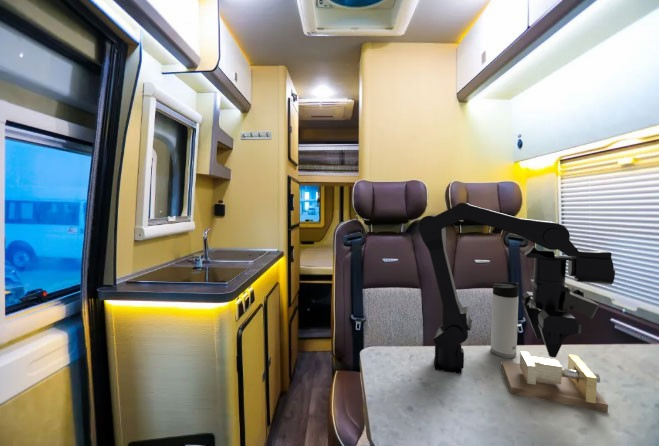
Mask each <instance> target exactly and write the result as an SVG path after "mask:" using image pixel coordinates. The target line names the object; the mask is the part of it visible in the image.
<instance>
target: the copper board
mask: <svg viewBox="0 0 659 446" xmlns="http://www.w3.org/2000/svg"><path fill="white" fill-rule="evenodd" d="M500 365H501V369H502V373H503V375H504V378H505V382H506V384H507V386H508V389H509V392H510V394H511V395H515V396H520V397H521V396H522V397H527V398H532V399H536V400H544V401H549V402H553V403H559V404H564V405H569V406H574V407H580V408H585V409H591V410H596V411H603V412H606V413H607V412H609V404H608V402H607V401H606V399H604V397H603V396H602V395H601V394H600V393H599V391H597V390H596V403H590V402H586V401H585V400H584V399H583V397H582V396H581V394H580V393H579V392H578V390H577V389H576V387H575V386H574V385H573V383H572V382H571V381H570V379H569V378H566V377H561V384H555V383H549V382H543V381H537V380H536V385H534V384H529V383H527V382H526V380H525V377H524V375H523V373H522V371H521V369H520V363H518V362H517V363H516V362H511V361H505V360H504V361H503V360H501V364H500Z"/></svg>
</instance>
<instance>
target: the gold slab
mask: <svg viewBox="0 0 659 446" xmlns="http://www.w3.org/2000/svg"><path fill="white" fill-rule="evenodd" d="M567 369H571V370H577V371H579V380H578V379H572V378H569V379H570V381H571V382H572V383H573V385H574V386H575V387H576V389H577V390H578V392H579V393H580V394H581V396H582V397H583V399H584V400H585V401H586V402H590V403H596V391H597V384H598V383H597V378H596V377H595V375H594V374H593V373H594V372H592V371H591V370H590V369H589V367H587V365H586V364H585V363H584V362H583V361H582V359H580V357H579V356H578V355H577V354H568V355H567Z"/></svg>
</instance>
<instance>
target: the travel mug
mask: <svg viewBox="0 0 659 446" xmlns="http://www.w3.org/2000/svg"><path fill="white" fill-rule="evenodd" d="M520 287H521V284H520V283H518V282H511V281H510V282H509V281H500V282H495V283H493V285H492V297H491V298H492V299H491V300H492V301H491V302H492V303H491V327H490V328H491V330H490V332H491V333H490V334H491V335H490V351H491V353H493V354H494V355H496V356H498V357H501V358H504V359H505V358H507V359H513V358H516V356H517V348H518V347H517V345H518V343H517V342H518V323H519V321H518V319H519V316H518V313H519V288H520Z"/></svg>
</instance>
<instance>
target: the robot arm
mask: <svg viewBox="0 0 659 446" xmlns="http://www.w3.org/2000/svg"><path fill="white" fill-rule="evenodd" d="M462 220H466V221H471V222H473V223H477V224H481V225H483V226H486V227H487V226H488V227H491V228H494V229H498V230H501V231H505V232H508V233H511V234H515V235H517V236H519V237H522V238H523V239H525V240H527V241H530V242H531V243H533V244H536V245H538V246H540V247H542V248H544V249H547V250H543V249H542V250H541V249H537V248H536V247H535V246H534V245H532V246H531V247H530V249H528V250H527V251H525V252H524V256H525V258H529V259H534V261H533V279H530V285H531V286H532V291H525V292H523V294H521V303H522V304H523V308H524V310H525V312H526V315H527V318H528V320H529V323H530V325H531V328H532V331H533V332H534V334H535V338H536V339H537V340H543V343H544V346H545V348H546V351H547V354H548V356H549V357H550V358H557V355H558V354H559V353H560V352H559V351H560V349H561V347H562V345H563V343H564V341H565V340H566V338H568V337H570V336H575V335H579V334H581V333H582V323H581V322H580V321H579V320H578V319H577V318H576V317H574V315H572V313H570V312H571V310H572V311H573V312H574V311H575V312H576V313H578V314H581V315H584V316H585V317H587V318H589V319H593V318H594V316H595V314H596V312H597V310H598V308H599V307H600V304H598V303H597V302H595V301H593V300H592V299H590V298H588V297H585V293H584V291H582V290H581V289H579V288H576V287H572V288H571V289H570V288H569V286H567V285H566V273H568V276H569V277H573V278H574V281H575V282H576V283H577V282H578V283H588V284H597V285H609V286H612V285H613V283H614V281H615V277H616V270H615V266H614V263H613V259H612V253H611V251H608V250H598V251H597V250H596V251H592V250H578V247H577V246H575V245H574V244H573V242H572V241H571V240H570V239H571V234H570V231H569V230H568V229H567V227H566V226H565V225H562V224H561V223H558V222H554V221H550V220H549V221H547V220H540V219H538V220H537V219H528V218H520V217H517V216H512V215H508V214H505V213H501V212H499V211H494V210H492V209H487V208H484V207H479V206H475V205H472V204H470V203H468V202H460V203H458V204H456V205H455V206H453V207H451V208H449V209H447V210H445V211H442V212H440V213H438V214H429V215H426V216H423V217H421V219H420V220H419V221H418V223H417V230H418V232H419V233H418V234H419V235H420V238H421V240H422V241H423V244H424V245H425V247H426V249H427V250H428V252H429V256H430V260H431V264H432V266H433V267H432V268H433V271H434V276H435V280H436V284H437V288H438V293H439V296H440V302H441V304H442V310H441V311H442V312H441V313H442V318H441V320H442V321H441V323H442V324H441V325H440V326H439V327H438V329H437V331H436V333H435V336H434V337H433V342H434V359H433V361H434V363H433V369H434V370H436V371H442V372H446V373H452V374H459V375H462V374H463V373H462V372H463V369H464V367H465V366H464V364H465V363H464V361H465V352H464V351H465V350H464V348H462V344H463V343H464V342H465V341H466V340H467V339H468V338H469V334H470V333H469V332H470V331H471V329H472V325H473V319H471V315H470V309H469V306H465V307H464V306H463V305H462V304H461V302H460V300H459V296H458V291H457V288H456V284H455V280H454V276H453V273H452V272H453V271H452V267H451V263H450V260H449V257H448V252H447V232H446V231H447V230H446V228H447V227H449V226H452V225H453V224H456V223H458V222H459V221H462ZM556 250H558V251H559V252H561V253H563V254H564V255H558V254H557V255H556V254H555V252H554V251H556ZM567 263H568V264H567ZM566 270H567V271H566Z"/></svg>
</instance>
